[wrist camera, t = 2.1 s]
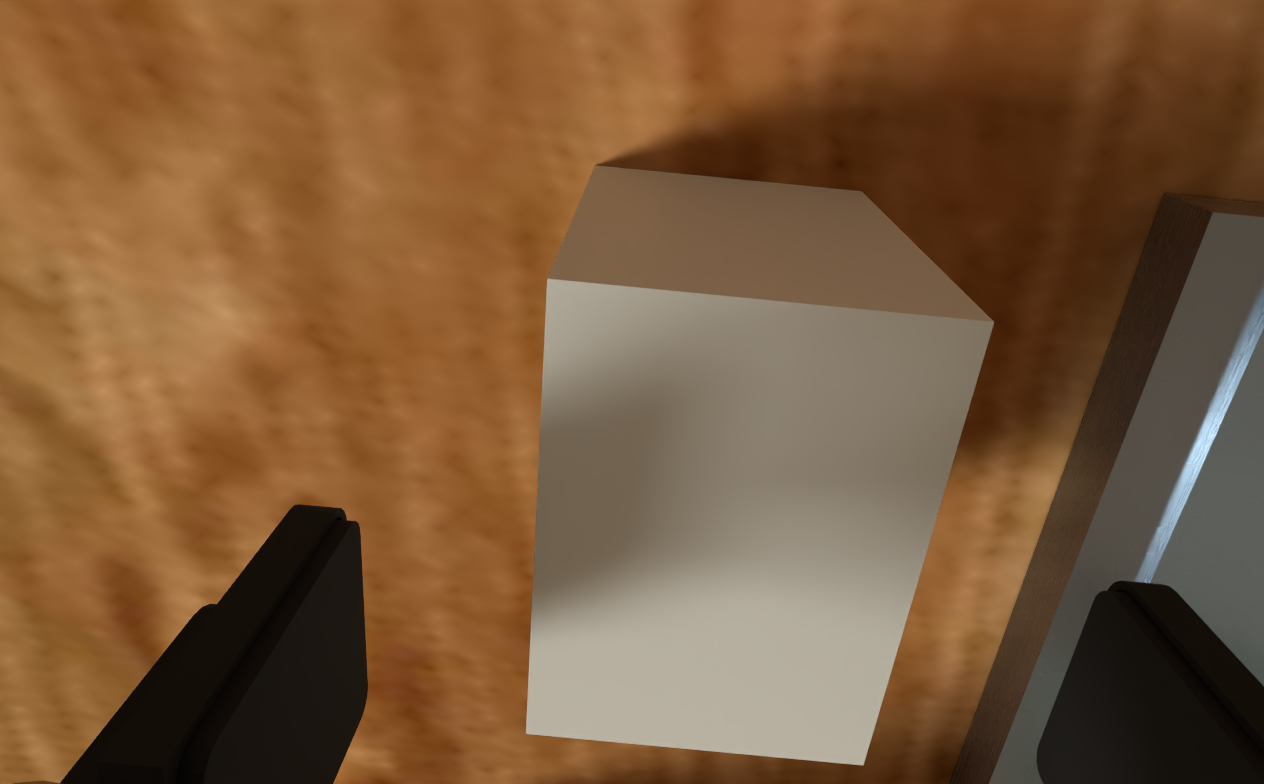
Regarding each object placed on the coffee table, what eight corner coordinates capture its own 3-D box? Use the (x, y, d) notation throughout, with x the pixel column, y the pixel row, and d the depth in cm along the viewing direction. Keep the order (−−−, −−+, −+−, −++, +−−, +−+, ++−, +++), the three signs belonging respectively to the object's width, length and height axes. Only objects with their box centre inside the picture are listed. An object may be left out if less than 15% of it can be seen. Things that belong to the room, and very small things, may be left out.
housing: (595, 164, 16) (547, 278, 9) (860, 190, 16) (993, 321, 9) (573, 483, 19) (526, 733, 12) (796, 504, 19) (863, 765, 12)
